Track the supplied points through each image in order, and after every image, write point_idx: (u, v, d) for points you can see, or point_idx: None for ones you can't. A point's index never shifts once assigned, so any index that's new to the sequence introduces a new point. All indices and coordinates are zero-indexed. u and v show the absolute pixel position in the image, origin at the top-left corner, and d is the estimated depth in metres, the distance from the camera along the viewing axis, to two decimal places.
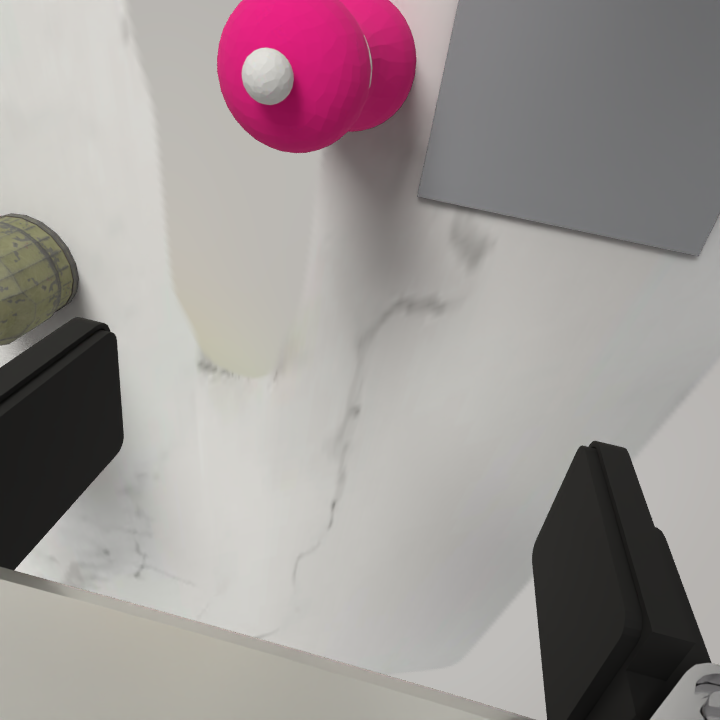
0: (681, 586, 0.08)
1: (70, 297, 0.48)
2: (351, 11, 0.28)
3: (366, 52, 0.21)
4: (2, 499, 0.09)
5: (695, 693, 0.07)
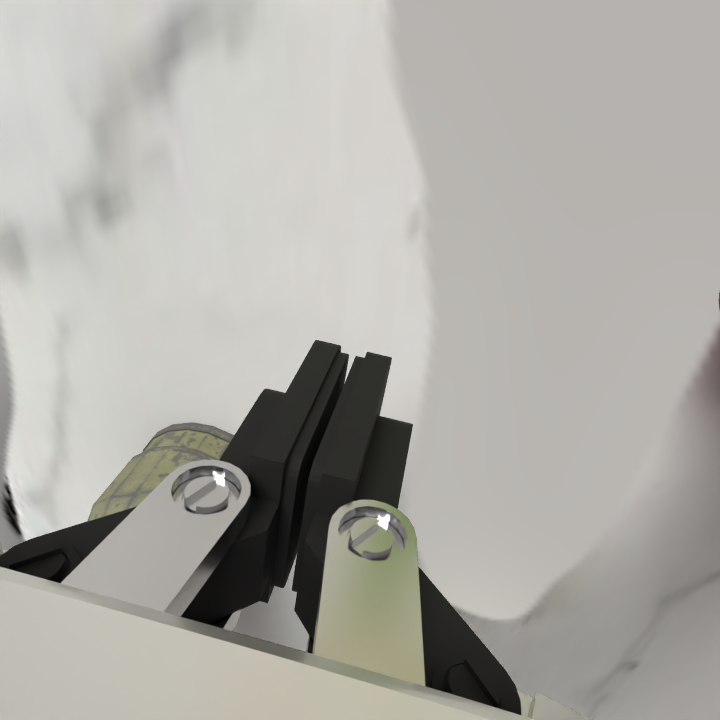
0: (403, 462, 0.10)
1: None
2: None
3: None
4: (298, 513, 0.09)
5: (353, 522, 0.08)
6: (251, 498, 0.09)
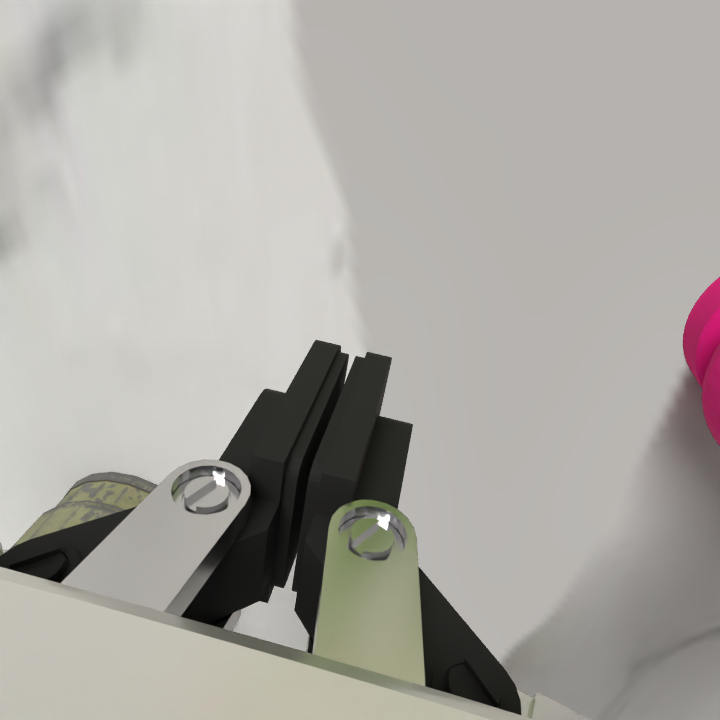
0: (403, 461, 0.10)
1: None
2: None
3: None
4: (298, 513, 0.09)
5: (353, 522, 0.08)
6: (251, 498, 0.09)
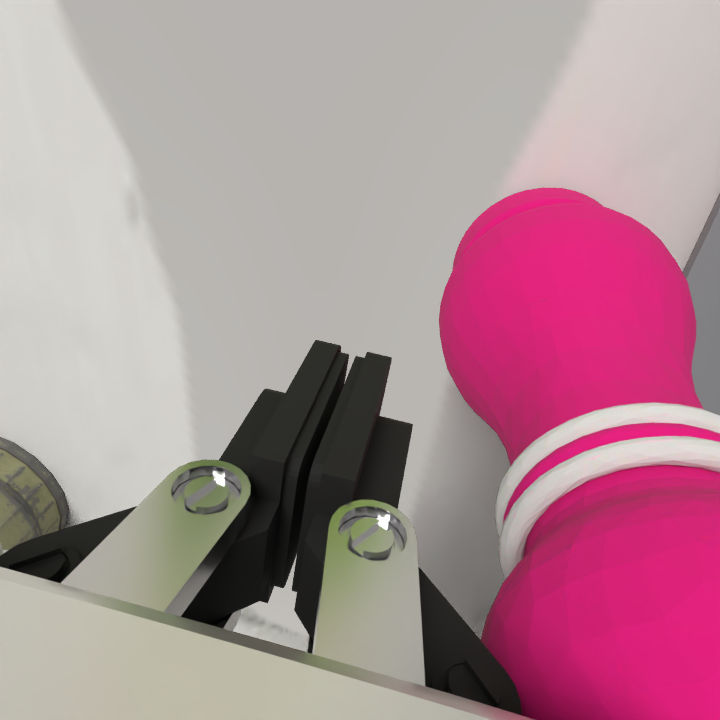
0: (403, 461, 0.10)
1: None
2: (631, 303, 0.13)
3: None
4: (298, 513, 0.09)
5: (352, 522, 0.08)
6: (251, 498, 0.09)
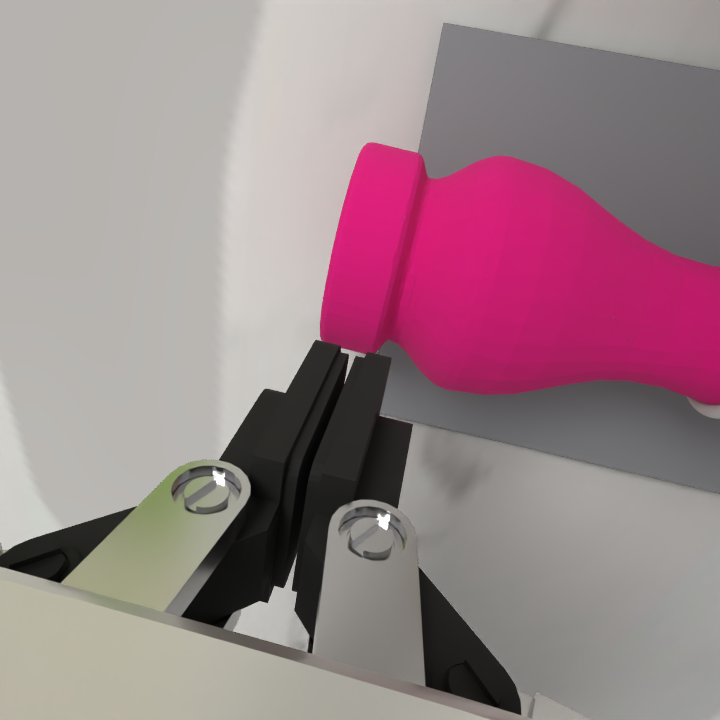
0: (404, 461, 0.10)
1: None
2: None
3: None
4: (298, 513, 0.09)
5: (353, 522, 0.08)
6: (251, 498, 0.09)
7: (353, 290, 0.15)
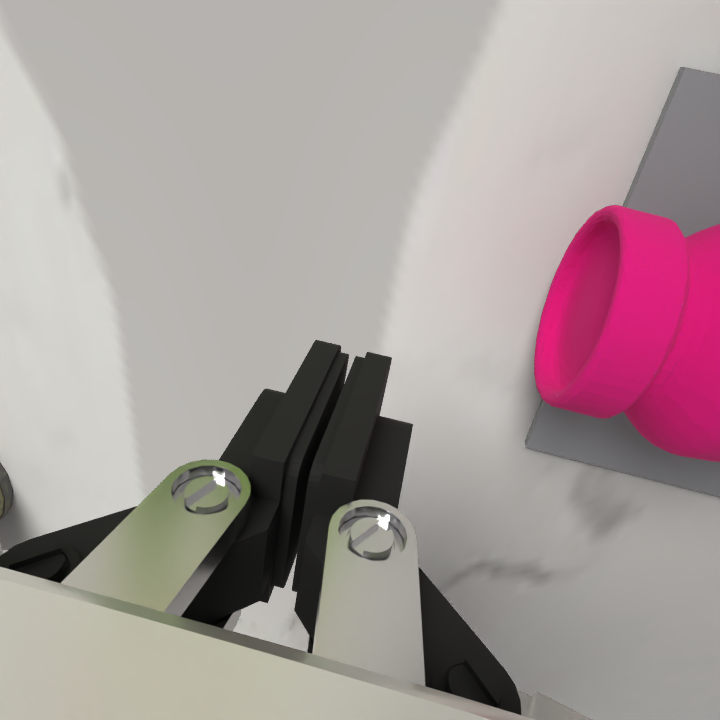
0: (403, 462, 0.10)
1: (2, 516, 0.34)
2: None
3: None
4: (298, 513, 0.09)
5: (353, 522, 0.08)
6: (251, 498, 0.09)
7: (617, 373, 0.15)
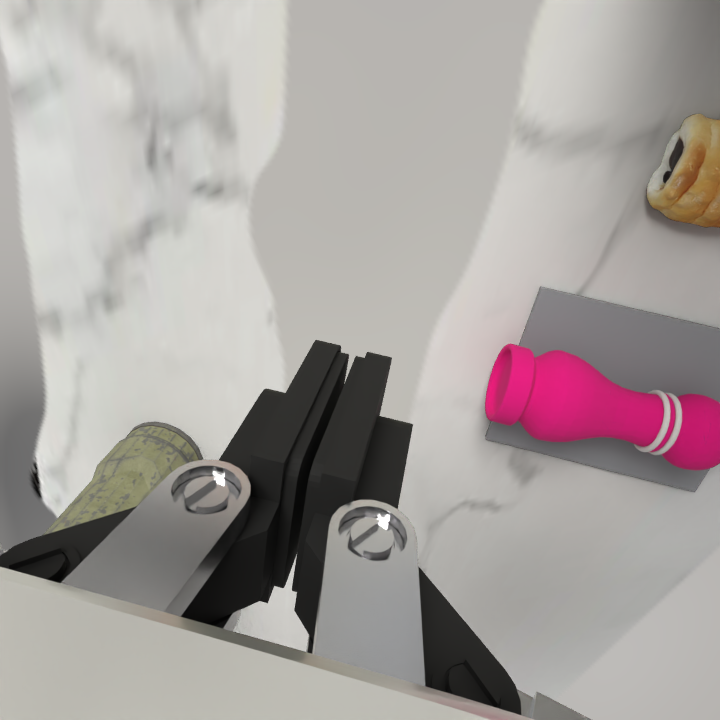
0: (404, 461, 0.10)
1: None
2: None
3: None
4: (298, 513, 0.09)
5: (353, 522, 0.08)
6: (251, 498, 0.09)
7: (510, 410, 0.42)
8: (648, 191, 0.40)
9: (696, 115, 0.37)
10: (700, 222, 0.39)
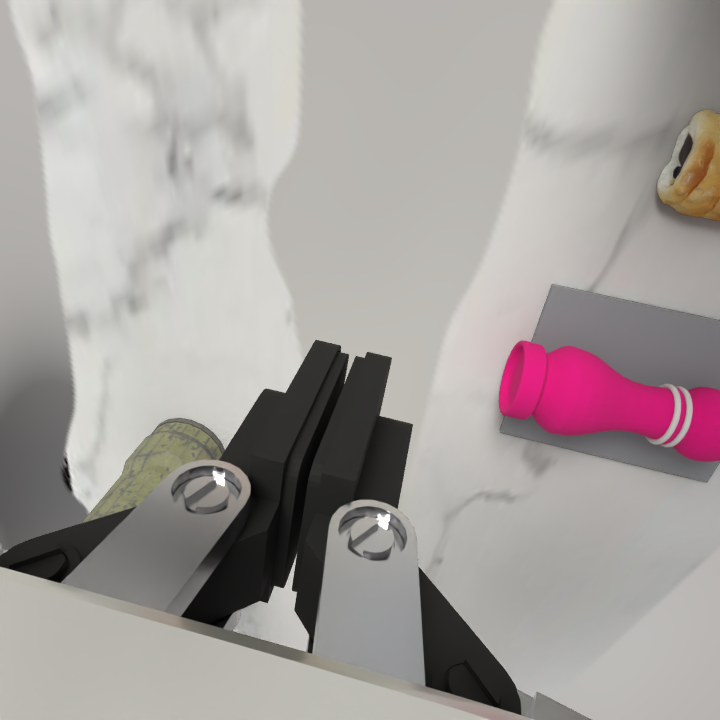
0: (403, 462, 0.10)
1: None
2: (617, 372, 0.45)
3: None
4: (298, 513, 0.09)
5: (352, 522, 0.08)
6: (251, 498, 0.09)
7: (522, 405, 0.43)
8: (658, 187, 0.40)
9: (705, 111, 0.37)
10: (711, 215, 0.39)
